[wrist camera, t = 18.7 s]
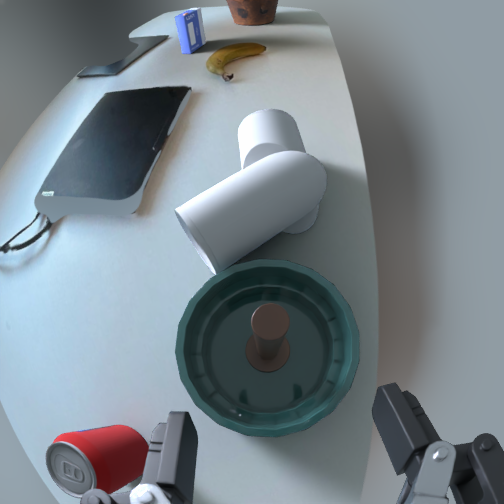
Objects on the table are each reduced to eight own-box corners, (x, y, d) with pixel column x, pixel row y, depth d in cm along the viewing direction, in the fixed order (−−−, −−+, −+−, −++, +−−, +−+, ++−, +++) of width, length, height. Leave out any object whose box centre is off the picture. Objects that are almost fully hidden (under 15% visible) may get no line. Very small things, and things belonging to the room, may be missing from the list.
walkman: (190, 53, 60) (183, 15, 49) (182, 53, 60) (174, 15, 50) (206, 42, 63) (201, 6, 52) (198, 42, 63) (192, 6, 53)
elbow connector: (345, 266, 32) (309, 143, 41) (349, 221, 23) (299, 87, 32) (201, 294, 36) (199, 171, 44) (156, 263, 26) (168, 125, 35)
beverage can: (104, 417, 27) (39, 423, 16) (155, 431, 26) (101, 449, 15) (103, 465, 24) (42, 486, 13) (153, 481, 23) (104, 516, 12)
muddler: (289, 332, 30) (313, 283, 16) (287, 373, 28) (311, 364, 14) (248, 330, 30) (232, 279, 16) (245, 371, 28) (224, 360, 14)
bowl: (341, 283, 33) (356, 262, 27) (339, 426, 26) (356, 435, 20) (200, 276, 34) (188, 255, 29) (185, 418, 27) (168, 425, 21)
